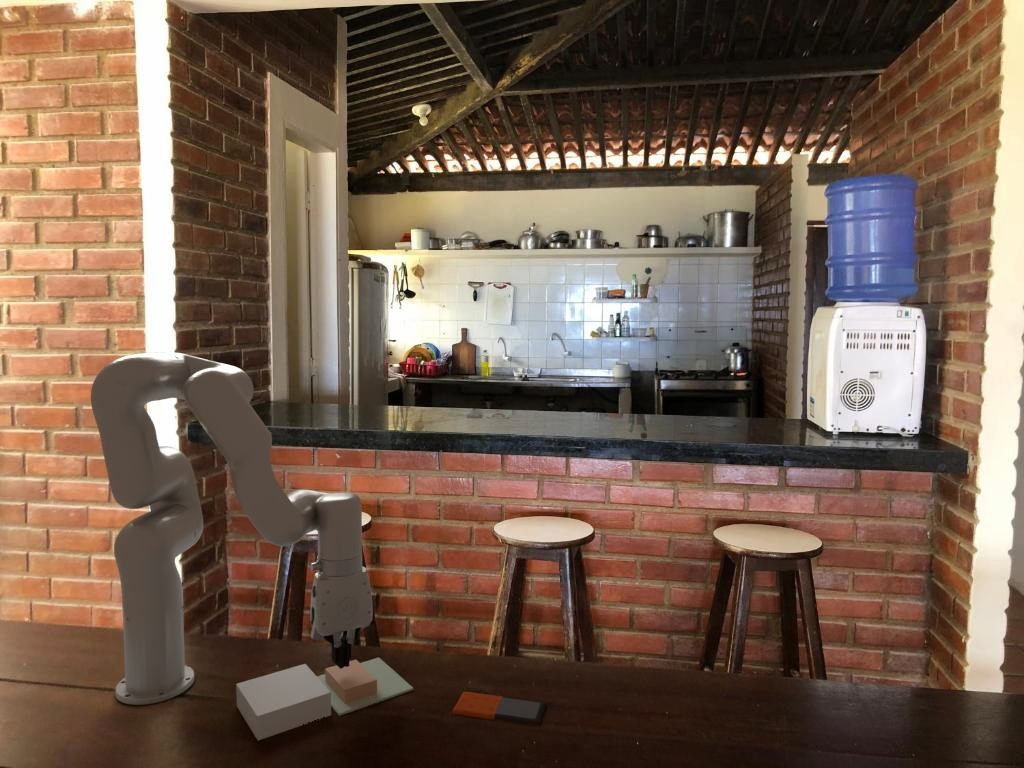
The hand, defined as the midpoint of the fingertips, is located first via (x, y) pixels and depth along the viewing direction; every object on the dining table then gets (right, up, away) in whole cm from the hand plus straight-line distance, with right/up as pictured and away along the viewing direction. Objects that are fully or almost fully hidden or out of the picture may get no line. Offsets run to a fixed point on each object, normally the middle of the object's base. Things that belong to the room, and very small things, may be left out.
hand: (341, 664), depth 121 cm
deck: (-8, -6, -6) cm, 12 cm away
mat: (+3, -5, +3) cm, 6 cm away
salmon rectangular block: (+1, -2, +1) cm, 3 cm away
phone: (+28, -7, -5) cm, 29 cm away
